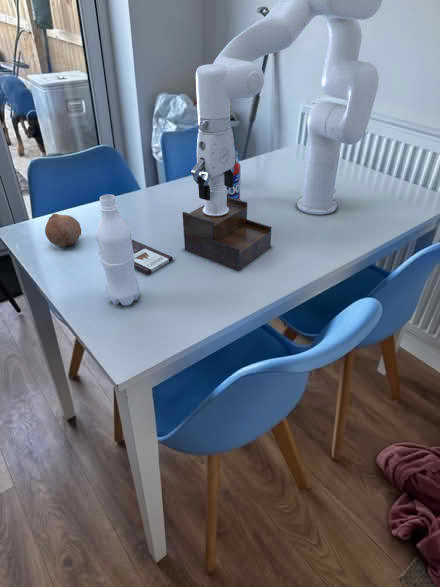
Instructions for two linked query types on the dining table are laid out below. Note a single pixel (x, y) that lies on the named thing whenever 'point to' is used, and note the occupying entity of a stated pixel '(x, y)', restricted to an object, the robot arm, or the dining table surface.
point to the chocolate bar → (148, 258)
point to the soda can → (235, 183)
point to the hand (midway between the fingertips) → (216, 192)
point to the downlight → (216, 197)
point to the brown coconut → (62, 230)
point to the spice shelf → (226, 235)
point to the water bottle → (116, 253)
